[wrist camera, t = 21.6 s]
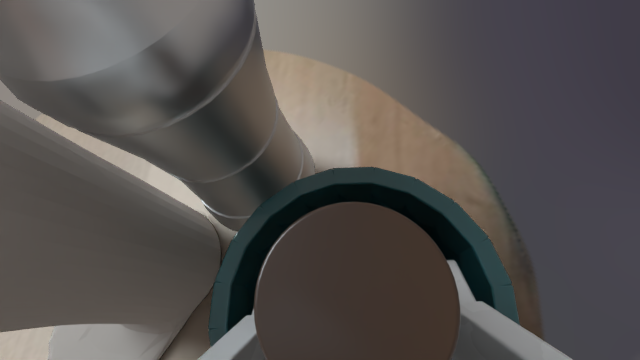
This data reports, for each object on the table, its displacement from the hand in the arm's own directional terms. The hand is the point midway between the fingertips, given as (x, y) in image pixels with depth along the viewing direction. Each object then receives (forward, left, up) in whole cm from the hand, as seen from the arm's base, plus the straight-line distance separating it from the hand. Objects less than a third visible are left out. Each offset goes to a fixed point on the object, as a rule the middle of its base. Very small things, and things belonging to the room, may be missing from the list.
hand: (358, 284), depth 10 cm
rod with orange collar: (-1, 0, -8) cm, 8 cm away
